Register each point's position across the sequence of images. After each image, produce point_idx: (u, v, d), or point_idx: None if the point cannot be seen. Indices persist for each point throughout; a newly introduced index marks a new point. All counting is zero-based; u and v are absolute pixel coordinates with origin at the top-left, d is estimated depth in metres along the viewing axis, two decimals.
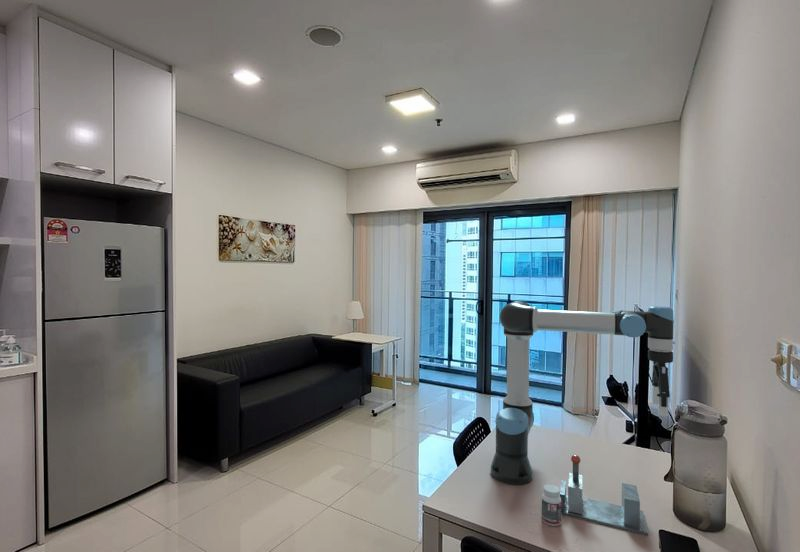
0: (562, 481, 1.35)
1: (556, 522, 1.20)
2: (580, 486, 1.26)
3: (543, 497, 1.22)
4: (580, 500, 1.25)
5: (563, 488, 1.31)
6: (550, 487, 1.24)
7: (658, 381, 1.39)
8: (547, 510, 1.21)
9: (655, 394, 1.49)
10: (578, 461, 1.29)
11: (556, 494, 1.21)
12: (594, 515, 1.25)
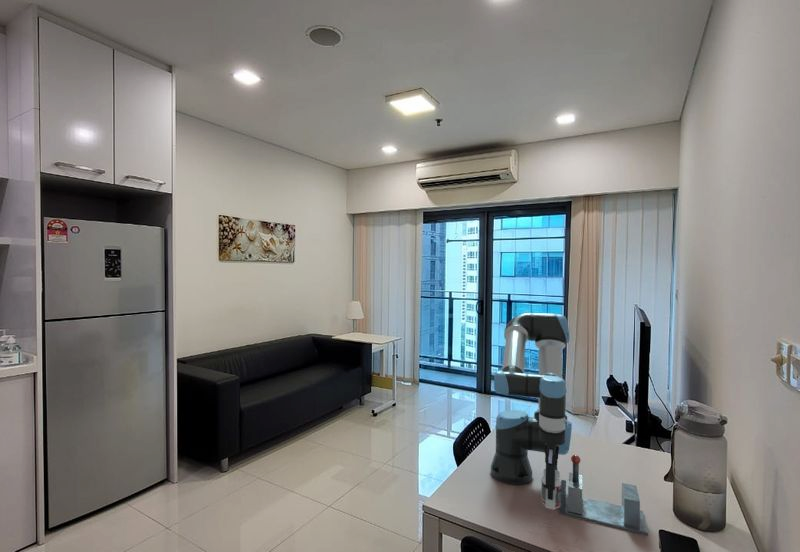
0: (562, 481, 1.35)
1: (556, 505, 1.21)
2: (580, 486, 1.26)
3: (543, 480, 1.23)
4: (580, 500, 1.25)
5: (563, 488, 1.31)
6: None
7: None
8: None
9: None
10: (578, 461, 1.29)
11: (556, 477, 1.21)
12: (594, 515, 1.25)
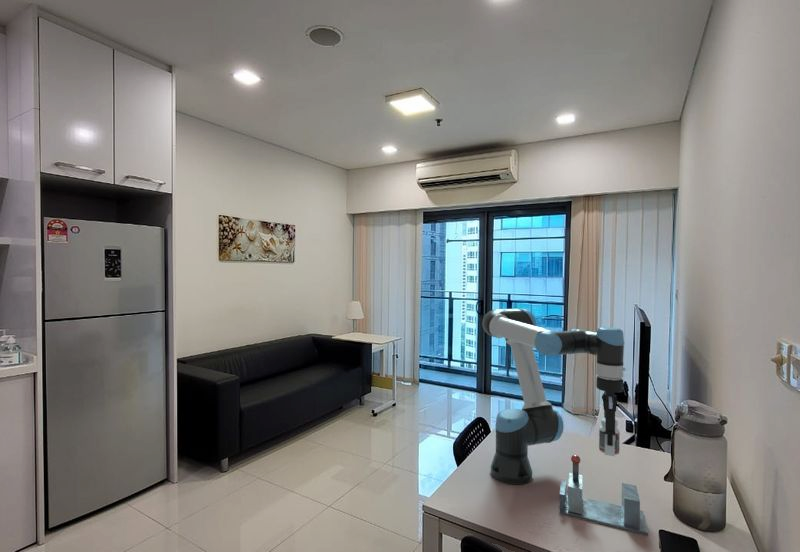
0: (562, 481, 1.35)
1: (615, 451, 1.23)
2: (580, 486, 1.26)
3: (601, 428, 1.26)
4: (580, 500, 1.25)
5: (563, 488, 1.31)
6: None
7: (605, 415, 1.24)
8: None
9: None
10: (578, 461, 1.29)
11: (615, 424, 1.24)
12: (594, 515, 1.25)
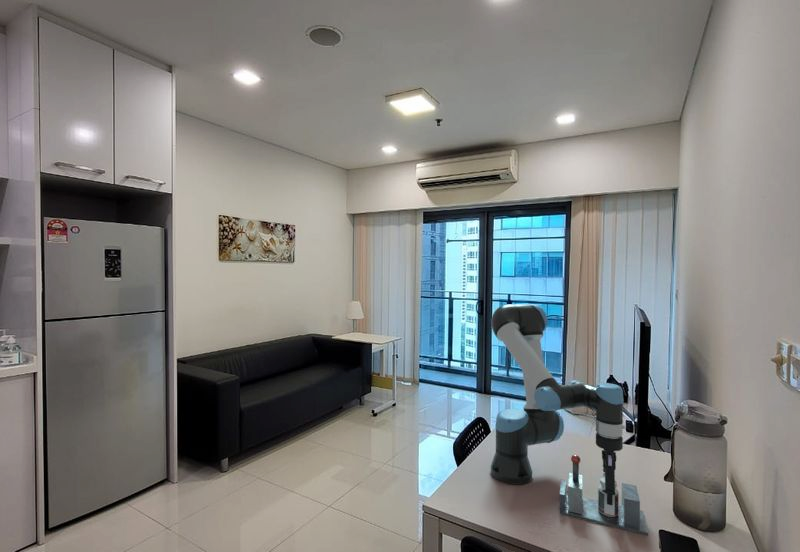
0: (562, 481, 1.35)
1: None
2: (580, 486, 1.26)
3: (600, 489, 1.26)
4: (580, 500, 1.25)
5: (563, 488, 1.31)
6: None
7: None
8: None
9: None
10: (578, 461, 1.29)
11: None
12: (594, 515, 1.25)
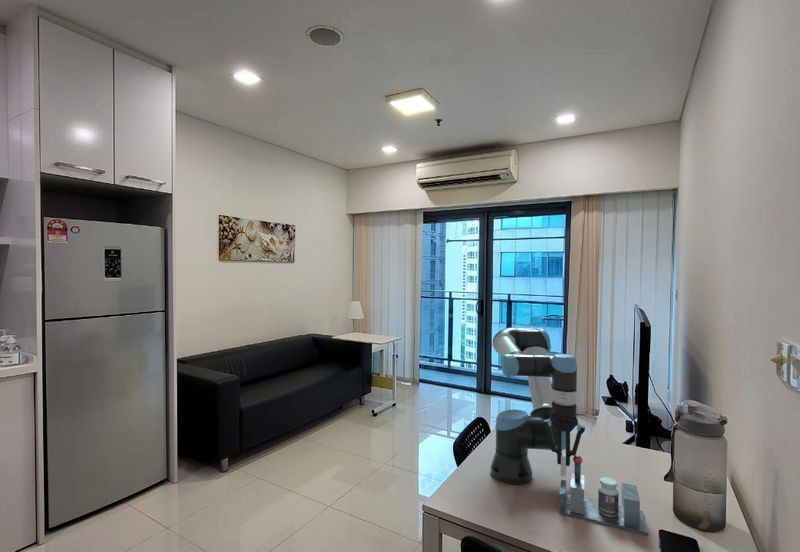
0: (562, 481, 1.35)
1: (614, 513, 1.23)
2: (582, 487, 1.26)
3: (600, 489, 1.26)
4: (582, 500, 1.25)
5: (563, 488, 1.31)
6: (606, 479, 1.27)
7: None
8: (605, 502, 1.24)
9: None
10: (580, 461, 1.29)
11: (614, 486, 1.24)
12: (594, 515, 1.25)
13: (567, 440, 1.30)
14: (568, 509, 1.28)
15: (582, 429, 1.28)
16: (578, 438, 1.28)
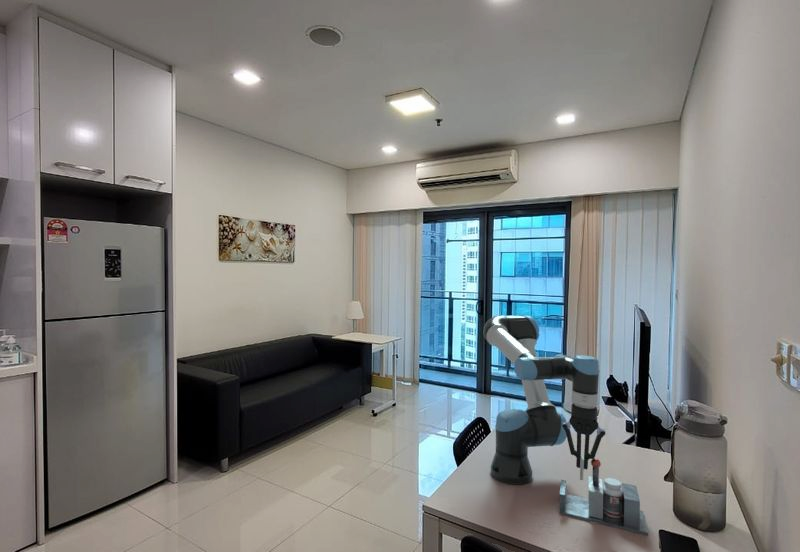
0: (562, 481, 1.35)
1: (619, 514, 1.23)
2: (601, 491, 1.24)
3: (605, 490, 1.25)
4: (601, 505, 1.22)
5: (563, 488, 1.31)
6: (611, 480, 1.26)
7: None
8: (610, 503, 1.24)
9: None
10: (598, 465, 1.26)
11: (618, 487, 1.24)
12: None
13: (586, 443, 1.27)
14: (568, 509, 1.28)
15: (602, 433, 1.25)
16: (598, 441, 1.26)
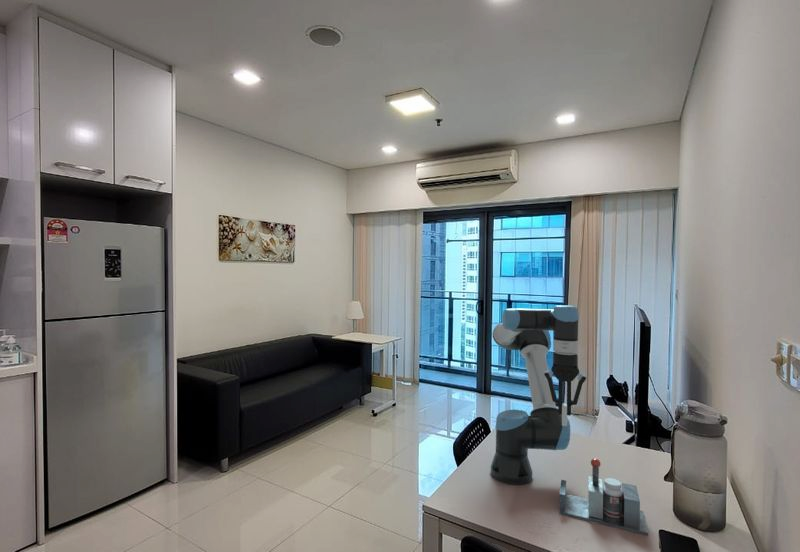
0: (562, 481, 1.35)
1: (618, 514, 1.23)
2: (601, 491, 1.24)
3: (605, 490, 1.25)
4: (601, 505, 1.22)
5: (563, 488, 1.31)
6: (611, 480, 1.26)
7: None
8: (610, 503, 1.24)
9: None
10: (598, 465, 1.26)
11: (618, 487, 1.24)
12: None
13: (568, 390, 1.30)
14: (568, 509, 1.28)
15: (583, 378, 1.28)
16: (579, 387, 1.29)
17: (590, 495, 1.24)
